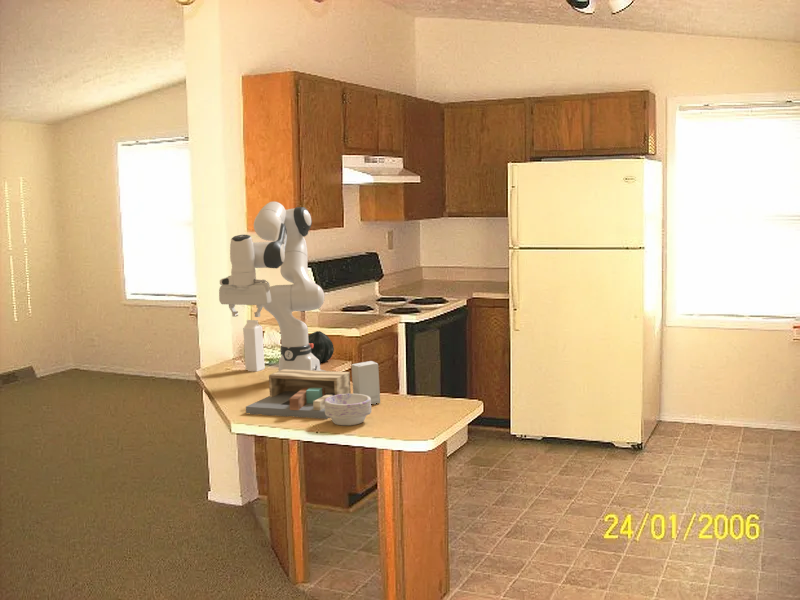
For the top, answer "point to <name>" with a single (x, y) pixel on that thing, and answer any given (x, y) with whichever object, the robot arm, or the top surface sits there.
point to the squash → (321, 346)
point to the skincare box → (366, 380)
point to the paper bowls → (348, 408)
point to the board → (284, 407)
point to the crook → (300, 399)
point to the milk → (253, 346)
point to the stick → (320, 402)
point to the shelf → (309, 381)
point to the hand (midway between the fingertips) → (246, 316)
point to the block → (313, 394)
